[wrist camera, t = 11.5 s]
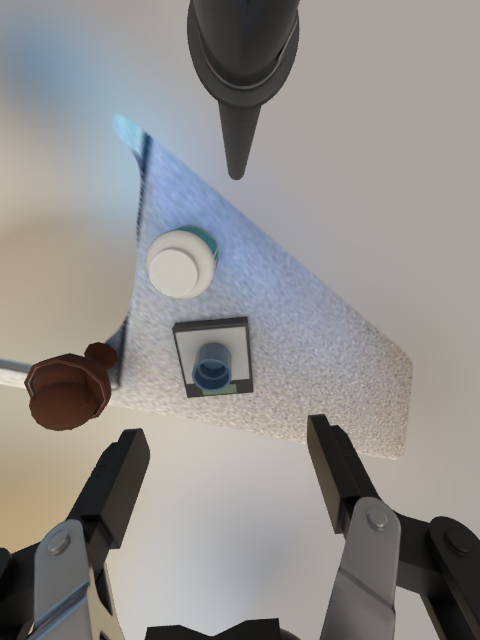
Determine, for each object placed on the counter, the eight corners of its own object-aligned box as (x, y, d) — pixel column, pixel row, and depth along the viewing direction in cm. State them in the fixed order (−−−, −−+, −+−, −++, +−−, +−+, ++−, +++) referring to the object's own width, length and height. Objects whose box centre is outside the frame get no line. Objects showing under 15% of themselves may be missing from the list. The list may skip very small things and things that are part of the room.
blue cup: (194, 343, 38) (188, 361, 34) (230, 340, 38) (229, 357, 34) (199, 373, 41) (195, 393, 36) (233, 370, 41) (233, 390, 36)
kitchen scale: (175, 323, 40) (171, 330, 37) (247, 316, 40) (248, 323, 37) (189, 389, 45) (187, 399, 43) (252, 384, 45) (253, 394, 43)
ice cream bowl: (69, 320, 39) (-19, 378, 25) (138, 339, 41) (90, 403, 27) (66, 371, 43) (-12, 445, 29) (129, 386, 45) (83, 463, 31)
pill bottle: (160, 233, 34) (118, 245, 22) (210, 218, 33) (196, 221, 21) (179, 283, 37) (152, 317, 25) (225, 270, 36) (221, 299, 24)
